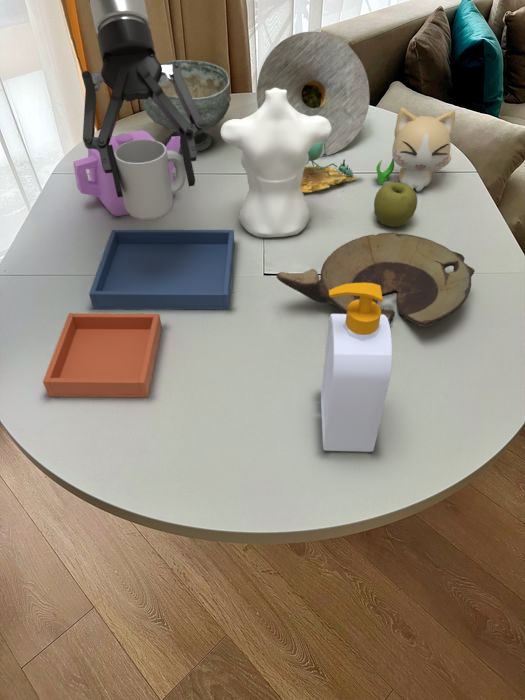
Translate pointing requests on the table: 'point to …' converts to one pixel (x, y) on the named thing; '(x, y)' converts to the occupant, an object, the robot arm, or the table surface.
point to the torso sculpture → (275, 163)
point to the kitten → (419, 147)
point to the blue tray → (165, 270)
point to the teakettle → (104, 182)
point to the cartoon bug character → (323, 172)
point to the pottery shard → (392, 276)
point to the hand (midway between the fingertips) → (156, 188)
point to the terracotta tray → (104, 356)
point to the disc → (319, 83)
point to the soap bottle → (355, 371)
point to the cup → (148, 177)
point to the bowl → (195, 97)
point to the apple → (395, 204)
